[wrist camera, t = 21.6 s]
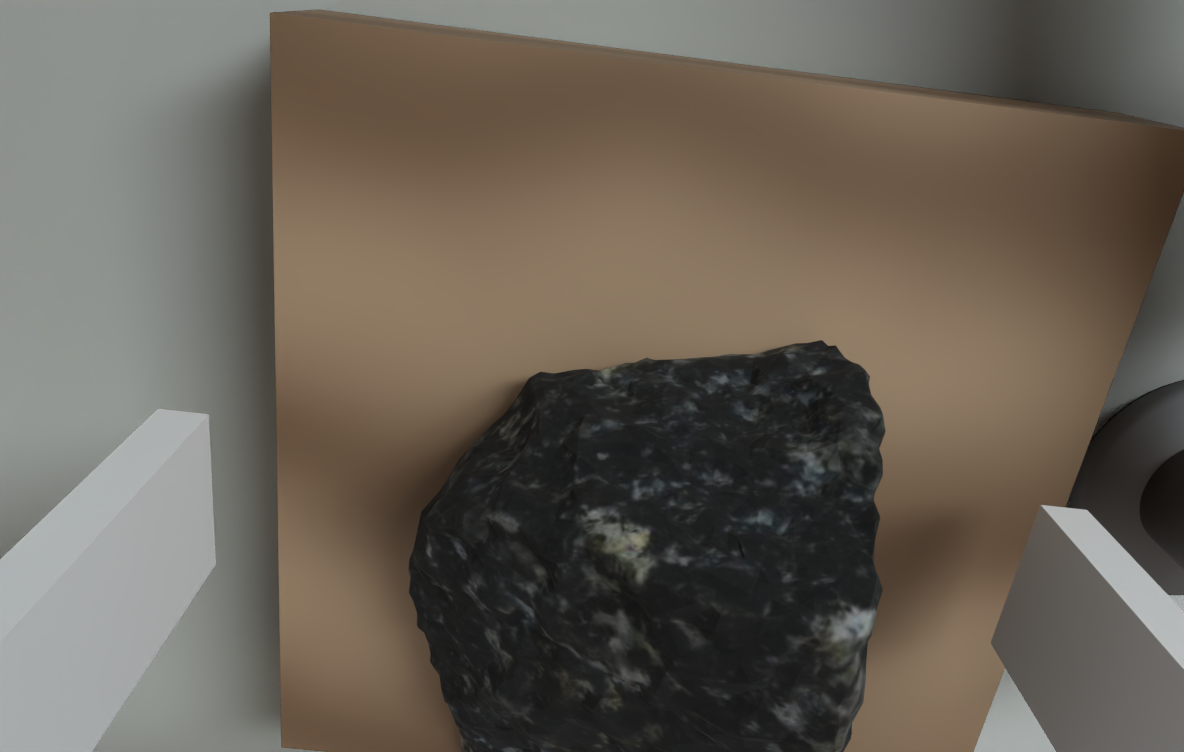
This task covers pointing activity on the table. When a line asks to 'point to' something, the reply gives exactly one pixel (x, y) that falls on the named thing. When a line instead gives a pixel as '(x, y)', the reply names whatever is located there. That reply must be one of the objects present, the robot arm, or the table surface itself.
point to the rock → (660, 559)
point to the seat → (696, 322)
